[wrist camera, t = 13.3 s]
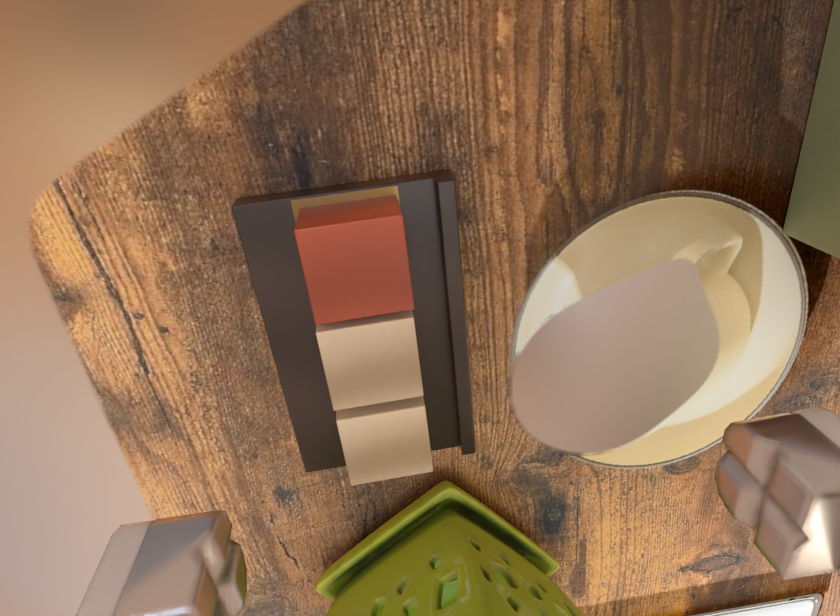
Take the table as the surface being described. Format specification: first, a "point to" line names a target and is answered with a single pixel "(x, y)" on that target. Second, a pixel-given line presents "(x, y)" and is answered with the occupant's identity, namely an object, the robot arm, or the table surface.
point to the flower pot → (445, 565)
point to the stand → (820, 156)
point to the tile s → (354, 259)
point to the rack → (368, 336)
